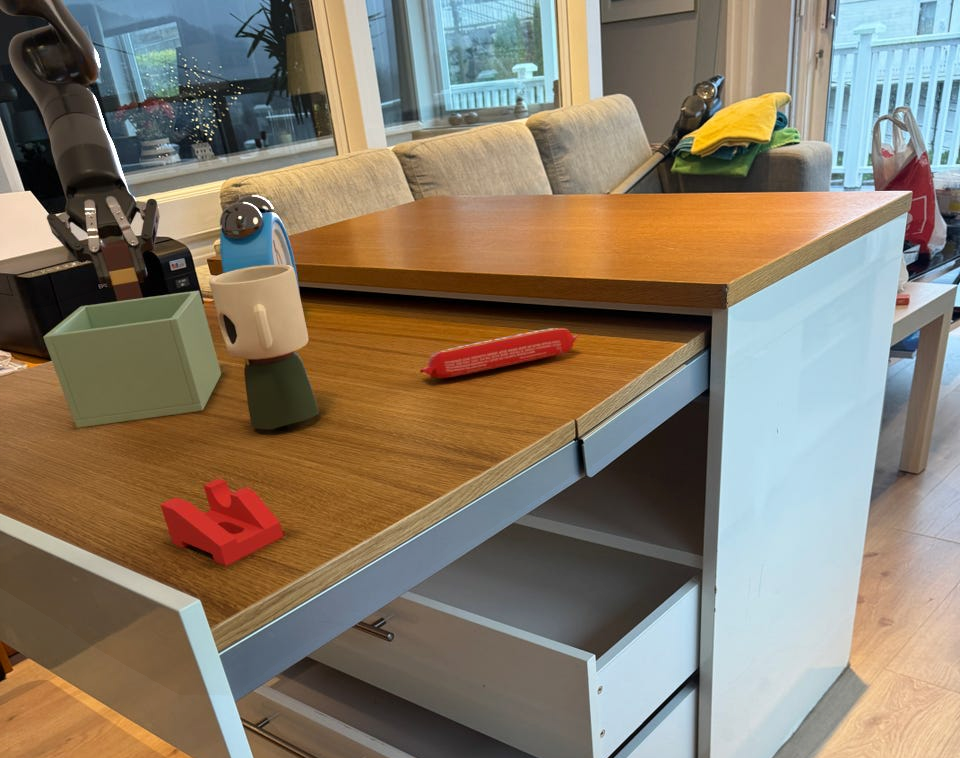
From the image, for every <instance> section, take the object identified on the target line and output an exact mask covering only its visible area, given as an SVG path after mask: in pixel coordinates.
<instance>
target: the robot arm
mask: <svg viewBox="0 0 960 758" xmlns="http://www.w3.org/2000/svg"><path fill="white" fill-rule="evenodd" d="M0 10H1V11H2V12H4V14H7V15H10V16H15V17H34V18H40V19H43V20H44V21H45V22H47V23H48V24H49V25H46V26H45V25H44V26H41V27H38V28H35V29H31V30H27V31H23V32H19V33H17V34H16V35H14V36H13V37H12V39H11V40H10V42H9V47H8V58H9V62H10V64H11V67H12V69H13V71H14V73H15V75H16V76H17V78H18V79H19V81H20V82H21V83H22V85H23V86H24V87H25V89H26V90H27V92H28V93H29V95H30V96H31V98H32V99H33V100H34V101H35V103H36V105H37V107H38V108H39V111H40V113H41V115H42V118H43V122H44V125H45V128H46V131H47V135H48V138H49V141H50V149H51V154H52V157H53V161H54V164H55V169H56V171H57V173H58V177H59V180H60V183H61V186H62V190H63V193H64V196H65V199H66V204H65V208H64V209H65V211H64V212H62V213H60V214H59V215H56V214H55V213H48V214H47V215H46V220H47V223H48V226H49V228H50V231H51V234H53V236H54V237H55V238H56V239H57V240H58V241H59V242H60V243H61V244H62V245H63V247H64V248H65V249H66V251H68V252H69V253H70V254H71V256H73V257H74V259H75V260H76V261H77V262H79V263H82V264H83V263H86V262H89V263H90V262H91V263H92V264H93V265H94V269H95V272H96V275H97V278H98V281H99V283H100V284H101V285H106V287H107V288H106V289H112V288H113V285H112V281H111V278H110V274H109V271H108V268H107V265H106V262H105V259H104V255H103V252H102V249H101V246H100V243H103V240H104V239H107V238H110V237H117V238H118V237H120V240H125V241H126V243H127V246H128V249H129V253H130V256H131V259H132V263H133V266H134V269H135V272H136V276H137V278H138V283H139V284H142V283H145V280H144V278H147V277H148V271H147V267H146V266H147V265H146V262H145V260H144V257H143V254H144V253H145V252H149V253H150V252H153V251H154V250H155V247H156V240H157V235H158V228H159V223H160V219H161V218H160V217H161V216H160V209H159V206H158V201H157V200H156V199H154V198H148V199H147V201H139V200H136V197H135V196H134V194H132V193H131V192H130V191H129V188H128V185H127V182H126V179H125V176H124V172H123V170H122V167H121V163H120V160H119V159H120V158H119V157H118V154H117V150H116V148H115V145H114V142H113V140H112V138H111V136H110V134H109V132H108V130H107V127H106V124H105V120H104V118H103V115H102V111H101V108H100V105H99V103H98V101H97V98H96V96H95V95H94V93H93V92H92V91H91V90H90V89H89V88H88V87H86V86H88V85H91V84H93V83H95V82H96V81H97V80H98V77H99V75H100V70H101V63H100V58H99V54H98V52H97V50H96V47H95V45H94V44H93V42H92V40H91V38H90V37H89V35H88V34H87V32H85V30H84V29H83V28H82V26H81V25H80V24H79V22H78V21H77V20H76V19H75V17H74V16H73V14H72V13H71V11H70V10H69V9H68V8H67V6H66V5H65V3H64V2H63V0H0ZM137 213H138V214H140V218H141V220H142V221H143V223H142V227H141V232H140V235H138V236H136V234H135V233H134V230H133V229H132V226H131V225H132V223H133V221H134V219H135V217H136V215H137ZM71 223H72V224H73V225H75V226H76V227H77V228H79V229H80V230H82V231H83V232H85V233H86V234H87V241H88V244H84V243H82V242H81V240H80V239H79V238H78V237H77V236H76V235H75V234H74V233H73V232H72V226H71ZM113 289H114V288H113Z"/></svg>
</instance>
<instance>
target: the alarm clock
mask: <svg viewBox="0 0 960 758" xmlns="http://www.w3.org/2000/svg"><path fill="white" fill-rule="evenodd" d="M219 228H220V235H219V236H220V237H219V249H220V262H221V267H222V274H223V273H227V272H230V271H234V270H239V269H244V268H248V267H254V266H263V265H290V266H292V267H293V268H294V271H295V275H296V280H297V285H298V290H299V291H300V286H299V278H298V272H297V266H296V262H295V257H294V253H293V252H294V251H293V249H292V245H291V241H290V238H289V236H288V231H287V229H286V227H285V225H284V222H283V221H282V219H281V218H280V216H279V215H278V214H277V213H275V210H274V207H273V205H272V204H271V203H270V201H269V200H267V199H266V198H265V197H263V196H259V195H254V194H249V195H245V196H242V197H240V198H239V199H238V200H237V201H236V202H234V203H231V204H229V205H228V206H227V207H225V208H224V209H223V211H222V213H221V215H220V217H219Z"/></svg>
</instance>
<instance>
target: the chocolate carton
mask: <svg viewBox="0 0 960 758" xmlns="http://www.w3.org/2000/svg"><path fill="white" fill-rule="evenodd" d="M100 246H101V249H102V252H103V255H104V259H105V262H106V265H107V268H108V271H109V274H110V278H111V281H112V285H113V291H114V295H115V298H116V302H118V301H125V300H132V299H140V298H144V297H143V293H142V290H141V286H140V283H138V278H137V276H136V272H135V269H134V266H133V263H132V259H131V256H130V253H129V249H128V246H127V243H126V241H125V240H122V239H119V240H118V239H117V240H113V241H107V242H102V243H100Z"/></svg>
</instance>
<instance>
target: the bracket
mask: <svg viewBox="0 0 960 758" xmlns="http://www.w3.org/2000/svg"><path fill="white" fill-rule="evenodd" d="M203 489H204V492H205V496H206V499H207V502H208V504H209V508H210V510H208V511H206V512H203V511H202V510H200V509H199V508H197V506H195V505H194V504H193V503H191V502H190V501H188V500H184V499H182V498H179V497H176V496H175V497H173V498H171V499H169V500H167V501H164V502H162V503H160V504H159V505H160V508H161V511H162V514H163V517H164V520H165V523H166V526H167V530H168V532H169V535H170V539H171V542H172V544H173V545H176V546H178V547H180V548H183V549H184V548H187V547H189V546H193V547H195V548H197V549H199V550H202V551H204V552H207V553H209V554H211V555H212V558H213V561H214V562H216V563H218V564H220V565H223V566H225V567H227V566H229V565H231V564H233V563H234V562H237V561H238V560H241V559H242V558H244V557H246V556H248V555H250V554H252V553H254V552H256V551H258V550H260V549H262V548H265V546H268V545H269V544H272V543H274V542H276V541H277V540H279V539H281V538H284V534H283V530H282V525H281V522H280V520H279V519H278V518H277V517H276V516H275V514H273V512H272V511H271V510H270V509H269V507H268V506H267V505H266V504H265V503H264V501H263V500H262V499H261V498H260V496H259V495H258V494H257V493H256V491H255V490H254V489H252V488H249V487H242V488H240V489H238V490H236V491H234V492H231V490H230V488H229V486H228V484H227V480H224V479H221V478H217V479H214V480H212V481H209V482H208V483H205V484H203Z"/></svg>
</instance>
